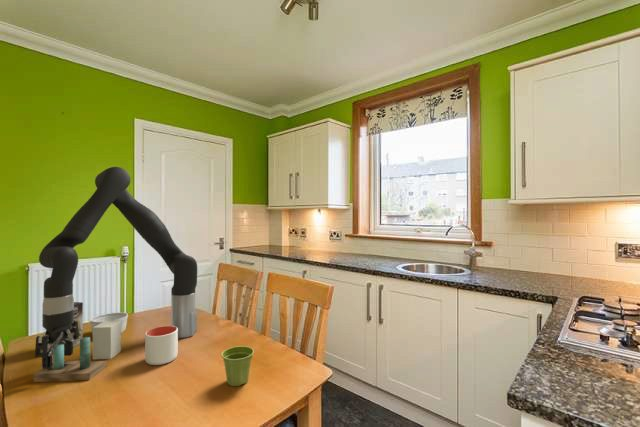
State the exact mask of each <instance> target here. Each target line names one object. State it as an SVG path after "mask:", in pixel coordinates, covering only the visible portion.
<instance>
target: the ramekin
mask: <svg viewBox="0 0 640 427" xmlns="http://www.w3.org/2000/svg"><path fill="white" fill-rule="evenodd" d="M128 318H129V315H128V313H127V312H110V313H103V314H99V315H96V316H94V317H92V318H90V320H89V321H90V327H91V333H92V335H93V327H95V326H97V325H99V324H100V323H102V322H111V321H121V334H122V333H124V332H125V330H126V328H127V325H128V324H127V323H128Z"/></svg>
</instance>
